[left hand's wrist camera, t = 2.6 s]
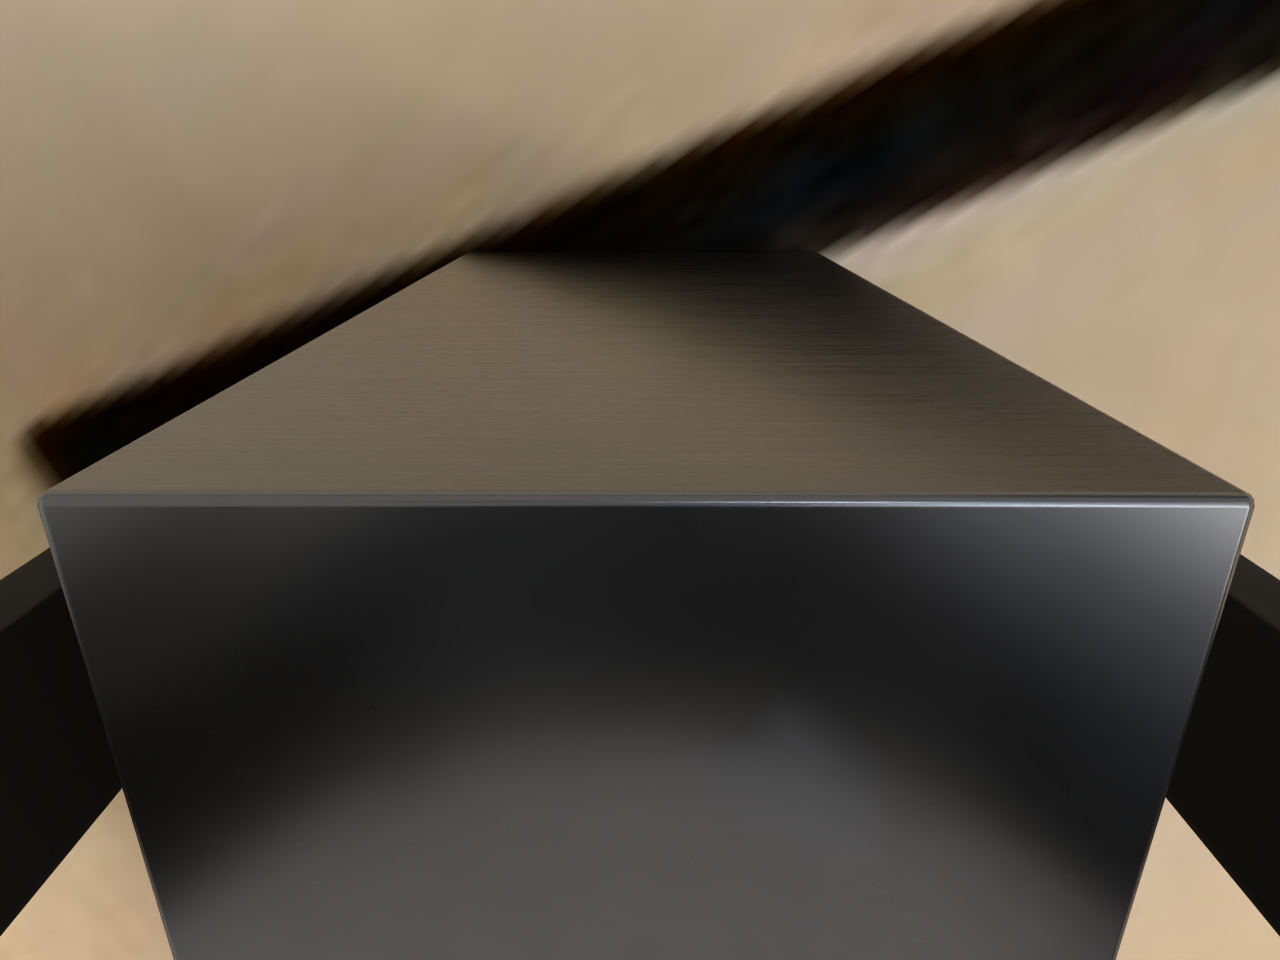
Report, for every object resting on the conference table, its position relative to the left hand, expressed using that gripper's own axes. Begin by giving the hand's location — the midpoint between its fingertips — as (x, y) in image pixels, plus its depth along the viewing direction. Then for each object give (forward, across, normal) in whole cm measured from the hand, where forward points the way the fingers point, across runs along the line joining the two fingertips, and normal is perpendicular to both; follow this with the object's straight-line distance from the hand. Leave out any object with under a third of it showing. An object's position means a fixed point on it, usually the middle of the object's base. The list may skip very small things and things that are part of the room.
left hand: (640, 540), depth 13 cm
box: (+3, 0, -8) cm, 9 cm away
